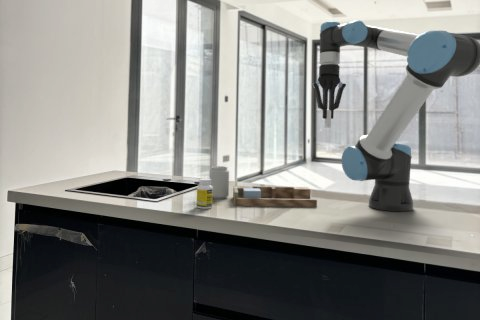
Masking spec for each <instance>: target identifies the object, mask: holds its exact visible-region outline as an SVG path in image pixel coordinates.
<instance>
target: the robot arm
mask: <svg viewBox="0 0 480 320" xmlns="http://www.w3.org/2000/svg"><path fill="white" fill-rule="evenodd" d="M319 31H320V33H319V62H318V63H319V68H318V76H319V77H318V78H317V81H316V82H313V83H311V87H312V88H313V90H314V95H315V98H316V99H315V100H316V104H317V105H316V106H317V109H321V110H322V119H324V128H331V126H332V120H334V111H335V110H336V109H337V110H338V109H339V107H340V103H341V99H342V97H343V91H344V90H345V88H346V86H347V84H346V83H344V82H342V81H341V78H340V70H341V69H340V68H341V67H340V65H339V64H340V63H341V60H340V59H341V48H342V47H345V46H354V47H361V48H368V49H374V50H378V51H383V52H387V53H391V54H395V55H398V56H404V57H406V63H407V65H406V67H405V70H406V76H405V78H404V79H403V80H402V82H401V84H400V85H399V87H398V88H397V90H396V91H395V93H394V95H393V96H392V98H391V99H390V101H389V102H388V104H387V105H386V106H385V108H384V110H383V111H382V113H381V114H380V115H379V118H378V119H377V120H376V122H375V123H374V125H373V127H372V128H371V129H370V131H369V132H368V134H364V135H361V136H360V138H359V140H357V142H356V143H355V145H350V146H348V147H346V148H345V149H343V152H342V154H341V167H342V170H343V172H344V174H345V176H346V177H348V178H349V179H350V180H352V181H357V182H358V181H359V182H364V181H373V180H374V186H373V187H372V188H373V189H372V191H371V193H370V196H369V199H368V206H369V207H370V208H373V209H376V210H380V211H387V212H410V211H413V210H414V200H413V196H412V193H411V191H410V190H411V189H410V179H411V165H412V148H411V146H409V145H408V144H402V143H397V142H398V140H399V139H400V137H401V136H402V134H403V133H404V131H405V130H406V129H407V128H408V126H409V124H410V123H411V122H412V121H413V118H415V116H416V115H417V113H418V112H419V111H420V109H421V108H422V107H423V105H424V103H425V102H426V101H427V99H428V98H429V97H430V95H431V94H432V92H433V91H434V90H438V89H442V87H444V85H445V84H446V83H447V81H448V80H449V78H450V77H457V78H458V77H459V78H460V77H464V76H468V75H470V74H472V73H473V72H474V71H475V70H477V69H478V68H479V66H480V42H479V41H478V40H477V39H476V38H473V36H469V35H465V34H458V33H454V32H448V31H446V30H428V31H425V32H423V33H421V34H417V33H416V34H415V33H410V32H405V31H399V30H396V29H395V30H394V29H389V28H385V27H377V26H373V25H372V26H371V25H366V23H364V22H363V21H362V20H359V19H357V20H351V21H348V22H346V23H343V24H341V23H340V22H339V21H325V22H323V23H322V24H320V30H319ZM337 86H338V89H337V92H336V96H335V91H336V88H337ZM320 87H321V89H322V95H321V91H320ZM328 95H329V96H328Z"/></svg>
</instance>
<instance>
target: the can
mask: <svg viewBox="0 0 480 320" xmlns="http://www.w3.org/2000/svg"><path fill="white" fill-rule="evenodd" d="M209 179H211V184H210V185H211V186H212V187H213V198H212V199H215V200H223V199H226V198H228V197H229V192H230V171H229V169H228V166H220V165H219V166H218V165H217V166H216V165H215V166H211V169H210V170H209Z"/></svg>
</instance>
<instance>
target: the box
mask: <svg viewBox="0 0 480 320" xmlns="http://www.w3.org/2000/svg"><path fill="white" fill-rule="evenodd" d="M243 188H259V189H260V190H261V198H243ZM232 191H233V193H232V197H233V205H234V207H235V206H236V207H238V206H239V207H240V206H241V207H247V206H248V207H297V208H298V207H299V208H300V207H303V208H304V207H305V208H306V207H309V208H315V207H316V208H317V206H318V200H317V198H316V199H314V198H313V199H312V198H311V188H310V187H308V186H266V185H265V186H263V185H261V186H260V185H258V186H257V185H256V186H255V185H252V186H251V185H250V186H249V185H233V189H232Z"/></svg>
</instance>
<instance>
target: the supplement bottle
mask: <svg viewBox="0 0 480 320" xmlns="http://www.w3.org/2000/svg"><path fill="white" fill-rule="evenodd" d="M198 183H199V184H198V185H197V186H196V208H198V209H203V210H208V209H212V208H213V199H214V198H213V187H212V186H211V185H210V184H211V179H210V178H206V177H205V178H200V179H199V180H198Z"/></svg>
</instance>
